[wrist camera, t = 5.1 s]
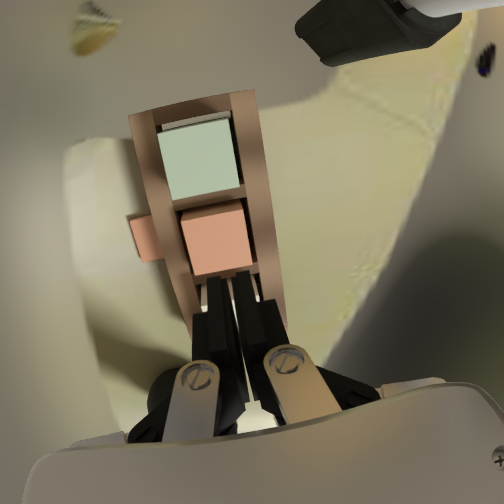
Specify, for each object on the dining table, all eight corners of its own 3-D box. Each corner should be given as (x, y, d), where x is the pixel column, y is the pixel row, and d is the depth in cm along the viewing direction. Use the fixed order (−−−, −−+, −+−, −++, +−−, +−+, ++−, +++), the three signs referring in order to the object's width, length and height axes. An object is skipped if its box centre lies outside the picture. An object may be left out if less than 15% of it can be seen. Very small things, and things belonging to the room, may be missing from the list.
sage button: (165, 129, 22) (157, 134, 19) (225, 117, 22) (227, 119, 19) (178, 185, 24) (172, 200, 21) (235, 174, 24) (239, 186, 21)
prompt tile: (130, 219, 26) (129, 221, 26) (156, 213, 26) (155, 215, 26) (143, 260, 28) (142, 262, 28) (168, 255, 28) (167, 257, 28)
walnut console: (137, 114, 23) (128, 115, 20) (249, 91, 23) (254, 89, 20) (194, 328, 32) (194, 347, 29) (281, 311, 32) (288, 329, 30)
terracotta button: (184, 205, 26) (180, 221, 23) (238, 194, 26) (243, 209, 23) (196, 253, 28) (195, 275, 25) (247, 243, 28) (252, 264, 25)
